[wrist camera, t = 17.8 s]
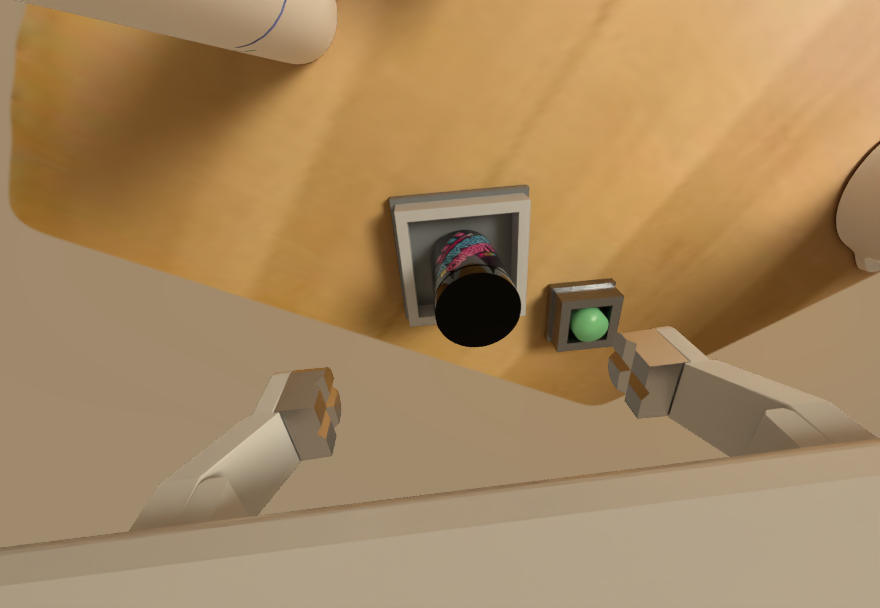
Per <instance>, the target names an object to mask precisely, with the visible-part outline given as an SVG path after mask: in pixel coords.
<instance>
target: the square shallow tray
mask: <svg viewBox="0 0 880 608" xmlns="http://www.w3.org/2000/svg"><path fill="white" fill-rule="evenodd" d="M389 201H390V208H391V215H392V222H393V229H394V236H395V244H396V251H397V258H398V265H399V272H400V279H401V286H402V293H403V300H404V307H405V314H406V319H407V318H409V323H410V327H414V326H424V325H435V324H437V323H436V319H435V311H434V303H433V302H434V297H433V287H432V278H431V268H430V258H431V253H432V251H433V248H434V247H435V245H436V244H437V242H438V241H439V240H440V239H441V238H443V237H444V236H445V235H447V234H449V233H451V232H454V231H457V230H473V231H476V232H479V233H481V234H483V235H484V236H485V237H487V238H488V239H489V240H490V242H491V243H492V245H493V247H494V248H495V250H496V252H497V254H498V256H499V258H500V260H501V262H502V264H503V266H504V268H505V269H506V271H507V273H508V275H509V277H510V278H511V280H512V281H513V283H514V285H515V288H516V290H517V291H518V293H519V296H520V299H521V314H520V316H525V311H526V290H527V270H528V250H529V230H530V210H531V199H530V198H529V186H527V185H516V186H505V187H494V188H483V189H472V190H461V191H450V192H439V193H428V194H417V195H406V196H395V197H390V199H389Z"/></svg>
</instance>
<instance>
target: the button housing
mask: <svg viewBox="0 0 880 608" xmlns="http://www.w3.org/2000/svg"><path fill="white" fill-rule="evenodd" d="M615 284H616V282H615V281H614V280H613V279H612V278H610V279H599V280H589V281H579V282H568V283H558V284H549V289H548V301H547V313H546V325H545V338H546V340H547V341H551V342H552V344H553V345H554V347H555V349H556V351H557V352H561V351H571V350H581V349H591V348H601V347H611V346H612V345H611V344H612V339H613V337H614V335H615V333H617V329H618V324H619V319H620V314H621V309H622V304H623V299H624V296H623V295H622V294H621V293H620V292H619V291H618V290H617V289H616V288H615ZM592 307H597V308H598V309H599V310H600V311H601V312H602V313H603V314H604V316H605V317H606V318H607V320H608V323H609V325H608V329H607V331H606V333H605V334H604V335H603V336H602V337H601V338H599V339H597V340H595V341H592V342H584V341H581V340H579V339H578V338H577V337H576V336H575V334H574V333H573V331H572V330H571V328H570V327H569V323H570V315H571V309H581V308H592Z"/></svg>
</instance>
